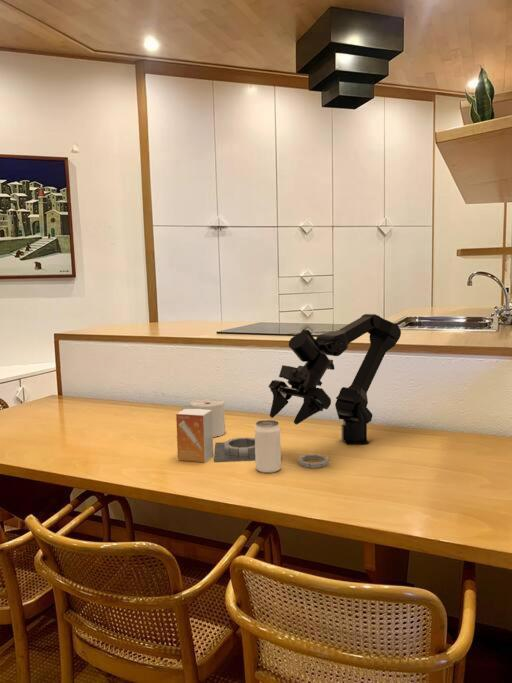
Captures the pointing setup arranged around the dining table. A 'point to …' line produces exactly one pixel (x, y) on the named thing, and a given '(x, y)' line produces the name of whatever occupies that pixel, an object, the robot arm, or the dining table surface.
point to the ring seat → (235, 450)
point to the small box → (194, 435)
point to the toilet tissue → (217, 413)
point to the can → (267, 446)
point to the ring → (313, 465)
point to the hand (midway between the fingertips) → (282, 420)
